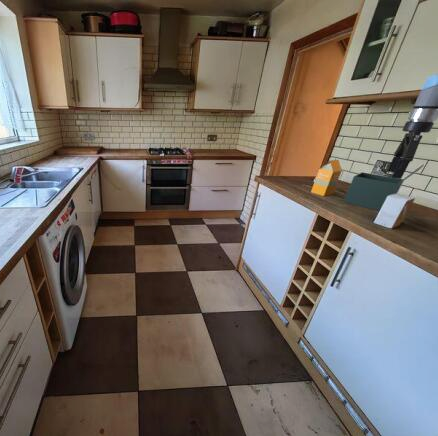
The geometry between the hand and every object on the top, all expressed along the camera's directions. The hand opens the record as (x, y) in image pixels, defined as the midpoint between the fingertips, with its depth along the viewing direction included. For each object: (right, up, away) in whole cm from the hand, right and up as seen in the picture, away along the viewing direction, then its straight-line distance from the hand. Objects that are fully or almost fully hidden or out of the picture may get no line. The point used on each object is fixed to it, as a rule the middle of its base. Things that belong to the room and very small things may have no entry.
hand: (393, 174), depth 97 cm
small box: (0, -22, +3) cm, 22 cm away
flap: (+21, +3, +11) cm, 23 cm away
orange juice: (0, -4, +41) cm, 41 cm away
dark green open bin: (+14, -11, +26) cm, 32 cm away
